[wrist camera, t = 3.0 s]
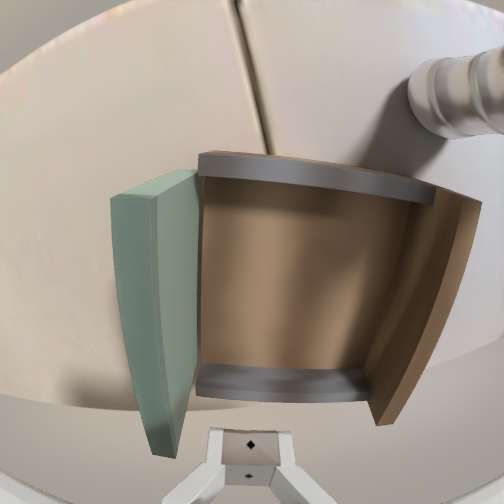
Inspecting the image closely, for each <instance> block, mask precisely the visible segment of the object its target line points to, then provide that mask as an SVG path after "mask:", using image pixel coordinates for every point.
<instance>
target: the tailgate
mask: <svg viewBox="0 0 504 504" xmlns="http://www.w3.org/2000/svg"><path fill="white" fill-rule="evenodd" d="M197 174H198V170H189V169H178V170H175V171H173V172H170V173H168V174H165V175H163V176H160V177H158V178H155V179H153V180H151V181H148V182H146V183H143V184H141V185H139V186H137V187H134V188H132V189H130V190H127V191H125V192H123V193H121V194H118V195H116V196H114V197H112V198H110V206H111V230H112V246H113V259H114V270H115V279H116V288H117V296H118V304H119V311H120V318H121V324H122V331H123V337H124V342H125V348H126V353H127V358H128V363H129V368H130V373H131V377H132V382H133V386H134V391H135V395H136V399H137V403H138V407H139V411H140V414H141V418H142V422H143V425H144V429H145V432H146V435H147V438H148V442H149V445H150V448H151V452H152V454H153V455H158V456H163V457H168V458H174V459H175V458H176V455H177V450H178V444H179V440H180V436H181V431H182V427H183V421H184V417H185V413H186V409H187V404H188V400H189V395H190V391H191V387H192V382H193V378H194V374H195V369H196V365H197V263H198V229H199V205H200V186H201V176H197Z"/></svg>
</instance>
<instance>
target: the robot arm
mask: <svg viewBox="0 0 504 504" xmlns="http://www.w3.org/2000/svg"><path fill="white" fill-rule="evenodd" d="M224 485H248V486H269V488H270V489H271V490H272V492H273V493H274V494H275V496H276V497H277V498H278V500H279V501H280V502H281V504H337V503H336V502H335V501H334V500H333V499H332V498H331V497H330V496H329V495H328V494H327V493H326V492H325V491H324V490H323V489H322V488H321V487H320V486H319V485H318V484H317V483H316V482H315V481H314V480H313V479H312V478H311V477H310V476H309V475H308V474H307V473H306V472H305V471H304V470H303V469H302V468H301V467H300V466H296V465H295V457H294V449H293V442H292V434H291V432H290V431H256V430H255V431H254V430H250V431H247V430H233V429H223V428H210V430H209V436H208V444H207V453H206V462H205V463H200V464H199V466H197V468H195V469H194V470H193V471H192V472H191V473H190V474H189V475H188V476H187V477H186V478H185V479H184V480H183V481H182V482H181V483H180V484H179V485H178V486H177V487H176V488H174V489H173V490H172V491H171V492H170V493H169V494H168V495H167V496H166V497H165V498H163V502H162V504H210V503H211V501H212V500H213V499H214V498H215V497H216V495H217V494H218V493H219V492H220V491H221V489H222V488H223V487H224ZM0 504H72V503H70V502H67V501H65V500H63V499H60V498H58V497H56V496H53V495H51V494H49V493H47V492H44V491H43V490H41V489H39V488H37V487H35V486H32V485H30V484H29V483H27V482H25V481H23V480H21V479H19V478H17V477H16V476H14V475H12V474H10V473H9V472H7V471H5V470H4V469H2V468H0ZM442 504H504V474H502V475H500V476H498V477H497V478H495V479H493V480H491V481H489V482H487V483H485V484H484V485H482V486H480V487H478V488H476V489H474V490H472V491H469V492H467V493H465V494H463V495H461V496H459V497H456V498H454V499H452V500H449V501H447V502H445V503H442Z"/></svg>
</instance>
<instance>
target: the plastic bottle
mask: <svg viewBox="0 0 504 504" xmlns="http://www.w3.org/2000/svg"><path fill="white" fill-rule="evenodd" d="M407 91H408V99H409V103H410V106H411V109H412V111H413V113H414V115H415V116H416V118H417V119H418V121H419V122H420V123H421V124H422V125H423V126H424V127H425V128H426V129H427V130H429V131H431V132H432V133H434V134H437V135H440V136H443V137H446V138H449V139H460V138H467V137H472V136H475V135H484V134H503V135H504V46H501V47H497V48H494V49H491V50H489V51H487V52H483V53H480V54H477V55H471V56H464V57H457V58H436V59H431V60H428V61H426V62H424V63H423V64H421V65H420V66H419V67H418V68H417V69H416V70H415V71H414V72H413V73H412V75H411V76H410V79H409V82H408V90H407Z"/></svg>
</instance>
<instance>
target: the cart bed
mask: <svg viewBox="0 0 504 504" xmlns="http://www.w3.org/2000/svg"><path fill="white" fill-rule="evenodd" d="M197 176H206V178H205V195H204V215H203V238H202V270H201V364H200V368H199V373H198V377H197V382H196V396H202V397H210V398H220V399H230V400H243V401H258V402H282V403H330V402H353V401H367V402H368V404H369V407H370V410H371V413H372V415H373V418H374V421H375V424H376V426H381V425H389V424H393V423H394V422H395V420H396V419H397V417H398V415H399V414H400V412H401V410H402V409H403V407H404V405H405V404H406V402H407V400H408V398H409V397H410V395H411V393H412V391H413V389H414V388H415V386H416V384H417V382H418V380H419V379H420V377H421V375H422V373H423V371H424V369H425V367H426V365H427V363H428V361H429V359H430V357H431V355H432V353H433V350H434V348H435V346H436V344H437V342H438V339H439V337H440V335H441V333H442V330H443V328H444V326H445V323H446V321H447V318H448V316H449V313H450V311H451V308H452V306H453V303H454V300H455V297H456V295H457V292H458V289H459V286H460V283H461V280H462V277H463V274H464V271H465V268H466V265H467V261H468V258H469V255H470V251H471V247H472V244H473V240H474V236H475V232H476V228H477V224H478V219H479V215H480V210H481V205H482V202H481V201H478V200H476V199H473V198H470V197H468V196H465V195H462V194H459V193H457V192H454V191H451V190H448V189H445V188H442V187H439V186H436V185H433V184H430V183H427V182H424V181H421V180H418V179H415V178H411V177H406V176H401V175H397V174H392V173H387V172H382V171H376V170H371V169H366V168H360V167H354V166H348V165H342V164H336V163H329V162H322V161H315V160H308V159H300V158H292V157H283V156H274V155H264V154H253V153H241V152H227V151H210V152H205V153H201V154H199V158H198V174H197Z"/></svg>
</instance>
